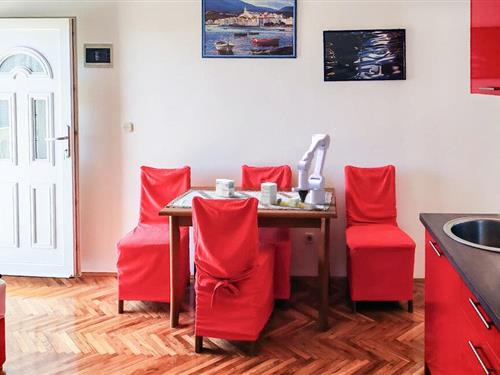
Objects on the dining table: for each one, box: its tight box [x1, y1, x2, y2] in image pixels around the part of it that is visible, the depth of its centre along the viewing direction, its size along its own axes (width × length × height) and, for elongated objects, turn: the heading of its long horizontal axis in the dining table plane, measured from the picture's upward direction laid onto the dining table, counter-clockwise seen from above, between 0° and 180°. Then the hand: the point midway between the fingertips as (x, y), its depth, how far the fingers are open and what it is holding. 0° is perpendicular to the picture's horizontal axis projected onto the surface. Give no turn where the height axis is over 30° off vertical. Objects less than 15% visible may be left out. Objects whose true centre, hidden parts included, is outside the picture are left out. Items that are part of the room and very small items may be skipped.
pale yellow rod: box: [273, 197, 307, 209], centre depth 390 cm, size 24×4×4 cm, turn 62°
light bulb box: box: [215, 178, 235, 198], centre depth 419 cm, size 11×7×11 cm, turn 58°
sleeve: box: [288, 197, 300, 208], centre depth 389 cm, size 4×5×5 cm
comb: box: [304, 203, 317, 210], centre depth 384 cm, size 4×7×3 cm, turn 152°
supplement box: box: [260, 182, 278, 206], centre depth 397 cm, size 7×7×13 cm
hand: (302, 202), depth 386 cm, fingers closed
